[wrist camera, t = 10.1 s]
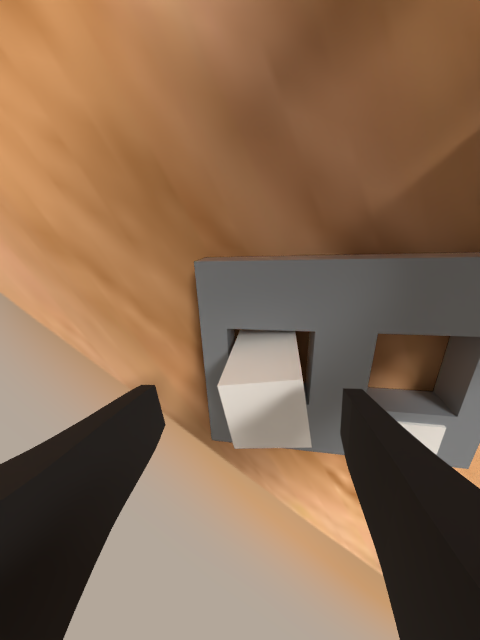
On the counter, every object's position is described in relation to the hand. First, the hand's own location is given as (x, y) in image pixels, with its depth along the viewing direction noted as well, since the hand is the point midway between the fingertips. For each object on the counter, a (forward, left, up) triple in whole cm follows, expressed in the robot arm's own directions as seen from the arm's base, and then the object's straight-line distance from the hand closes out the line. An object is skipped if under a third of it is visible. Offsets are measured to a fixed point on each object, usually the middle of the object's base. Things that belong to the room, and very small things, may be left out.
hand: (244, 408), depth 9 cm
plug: (-1, +2, -9) cm, 9 cm away
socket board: (-5, +2, -9) cm, 11 cm away
